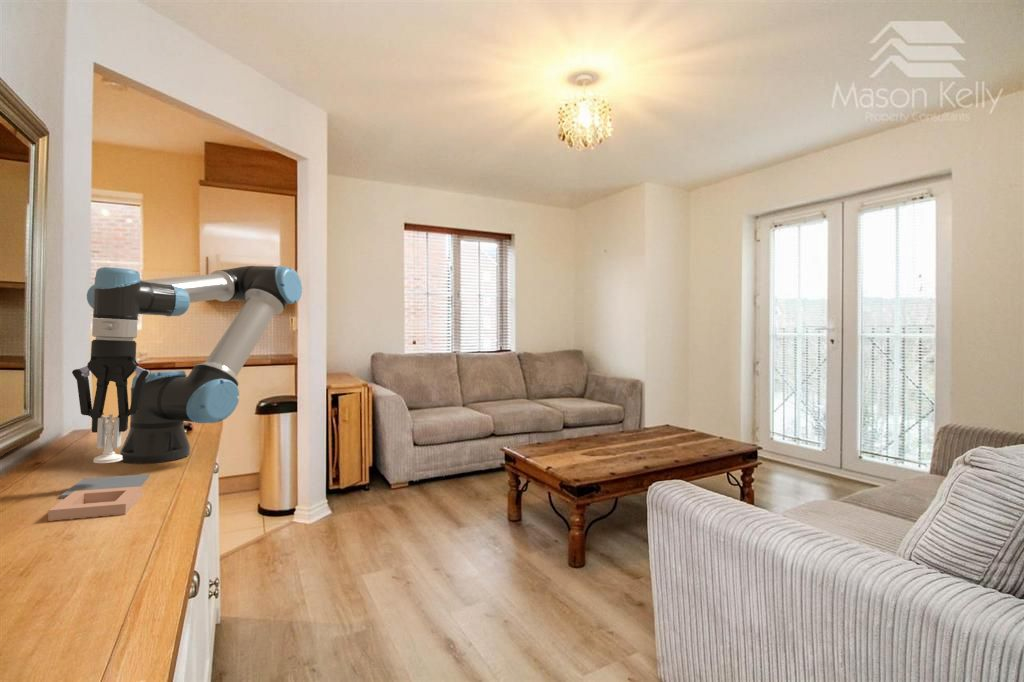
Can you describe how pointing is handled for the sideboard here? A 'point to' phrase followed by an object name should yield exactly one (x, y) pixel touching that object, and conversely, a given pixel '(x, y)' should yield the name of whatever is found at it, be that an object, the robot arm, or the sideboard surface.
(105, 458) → the chess piece
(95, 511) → the pocket holder
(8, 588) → the sideboard surface
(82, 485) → the mat
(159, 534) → the sideboard surface
